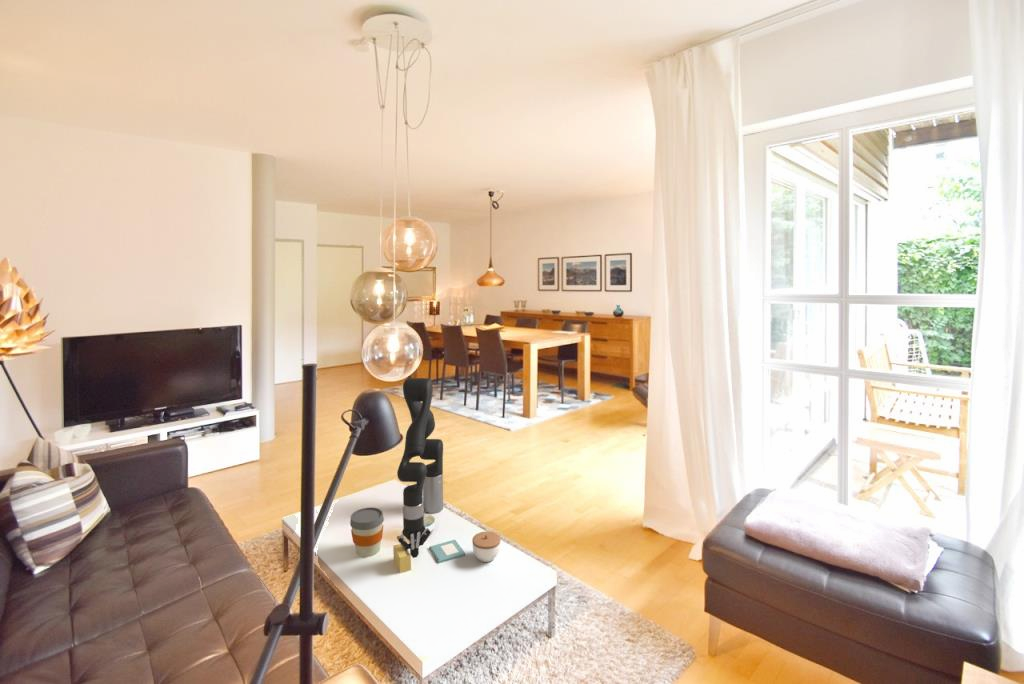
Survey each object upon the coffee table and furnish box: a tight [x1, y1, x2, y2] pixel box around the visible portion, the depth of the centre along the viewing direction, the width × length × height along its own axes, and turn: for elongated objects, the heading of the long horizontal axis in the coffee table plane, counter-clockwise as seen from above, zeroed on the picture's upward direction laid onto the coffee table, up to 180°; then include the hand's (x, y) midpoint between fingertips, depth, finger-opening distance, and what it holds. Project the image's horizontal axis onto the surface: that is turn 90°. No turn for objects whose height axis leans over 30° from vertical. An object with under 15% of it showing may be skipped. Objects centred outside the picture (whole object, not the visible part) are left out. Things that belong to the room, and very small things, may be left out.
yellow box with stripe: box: [392, 543, 412, 574], centre depth 182 cm, size 9×4×6 cm, turn 29°
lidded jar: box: [471, 531, 501, 563], centre depth 187 cm, size 11×11×9 cm
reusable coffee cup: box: [349, 507, 385, 558], centre depth 190 cm, size 13×13×15 cm
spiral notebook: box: [428, 539, 467, 564], centre depth 191 cm, size 11×11×1 cm
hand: (414, 556), depth 184 cm, fingers closed
